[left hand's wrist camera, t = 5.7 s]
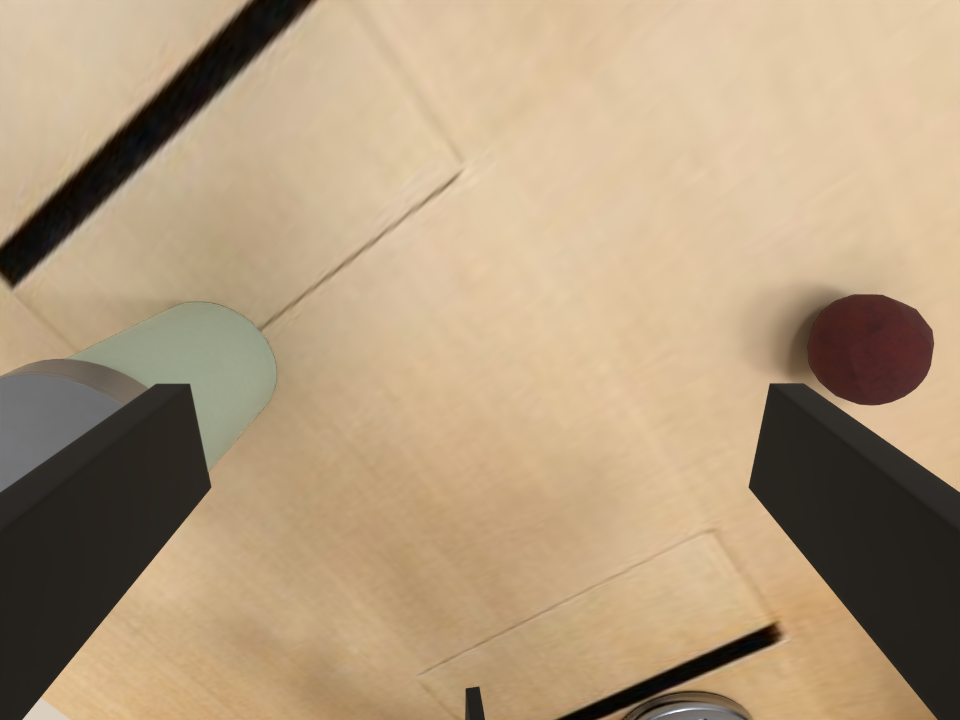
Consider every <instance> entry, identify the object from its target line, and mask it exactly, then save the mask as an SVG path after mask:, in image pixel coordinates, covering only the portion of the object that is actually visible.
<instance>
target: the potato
mask: <svg viewBox="0 0 960 720" xmlns="http://www.w3.org/2000/svg"><path fill="white" fill-rule="evenodd" d="M807 347H808V360H809V365H810V367H811V369H812V371H813V372H814V374H815V376H816V377H817V379H818V380H819V382H820V383H821V384H823V385H824V386H825V387H826V388H827V389H828V390H829V391H831V392H832V393H833V394H834V395H835V396H837V397H840V398H843V399H845V400H848V401H851V402H854V403H856V404H860V405H881V404H885V403H890V402H893V401H895V400H898V399H900V398H902V397H905V396H906V395H908V394H909V393H910V392H912V391H913V390H915V389H916V388H917V387H918V386H919V385H920V383H921V382H922V381H923V380H924V379H925V377H926V376H927V374H928V371H929V369H930V366H931V360H932V353H933V347H934V339H933V332H932V329H931V328H930V326H929V325H928V324H927V323H926V321H925V320H924V319H923V317H922V316H921V315H920V314H919V312H918V311H917V310H916V309H914V308H912V307H910V306H908V305H906V304H904V303H902V302H899V301H896V300H894V299H891V298H889V297H886V296H884V295H873V294H868V295H851V296H848V297H845V298H842V299H839V300H836V301H835V302H833V303H831V304H830V305H829V306H828V307H827V308H825V309H824V310H823V311H822V312H821V313H820V315H819V316H818V318H817V319H816V321H815V322H814V324H813V328H812V331H811V335H810V338H809V342H808V346H807Z"/></svg>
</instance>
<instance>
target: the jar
mask: <svg viewBox="0 0 960 720" xmlns="http://www.w3.org/2000/svg"><path fill="white" fill-rule="evenodd" d="M66 359H73V360H81V361H88V362H92V363H96V364H100V365H103V366H106V367H109V368H112V369H114V370H117V371H119V372H121V373H123V374H125V375H127V376H129V377H131V378H133V379H135V380H136V381H138V382H140V383H141V384H143V385H144V386H146V387H147V388H148V389H149V388H151V387H152V386H153V385H155V384H190V386H191V390H192V395H193V400H194V405H195V410H196V415H197V420H198V425H199V429H200V434H201V439H202V444H203V449H204V454H205V459H206V464H207V468H208V472H209V471H210V470H211V469H212V468H213V467H214V465H215V464H216V463H217V462H218V461H219V460H220V458H221V457H222V456H223V455H224V454H225V453H226V452H227V450H228V449H229V448H230V447H231V446H232V445H233V443H234V442H235V441H236V440H237V439H238V438H239V436H240V435H241V434H242V433H243V432H244V431H245V429H246V428H247V427H248V426H249V425H250V424H251V423H252V421H253V420H254V419H255V418H256V417H257V416H258V414H259V413H260V412H261V411H262V410H263V409H264V407H265V406H266V405H267V403H268V402H269V401H270V399H271V397H272V395H273V392H274V389H275V386H276V380H277V370H276V362H275V359H274V355H273V352H272V350H271V348H270V346H269V344H268V342H267V340H266V339H265V337H264V336H263V335H262V333H261V332H260V331H259V330H258V329H257V328H256V326H255V325H253V324H252V323H251V322H250V321H249V320H248V319H246V318H245V317H243V316H242V315H240V314H239V313H237V312H235V311H233V310H231V309H229V308H226V307H224V306H221V305H217V304H213V303H207V302H189V303H183V304H179V305H176V306H174V307H171V308H169V309H167V310H165V311H163V312H161V313H159V314H157V315H155V316H153V317H151V318H149V319H147V320H144V321H142V322H140V323H138V324H136V325H134V326H132V327H130V328H128V329H126V330H124V331H122V332H120V333H118V334H116V335H114V336H111V337H109V338H107V339H105V340H103V341H101V342H99V343H97V344H95V345H93V346H91V347H89V348H87V349H85V350H83V351H81V352H79V353H76V354H74V355H72V356H70V357H68V358H66Z"/></svg>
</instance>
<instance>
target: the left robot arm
mask: <svg viewBox="0 0 960 720" xmlns="http://www.w3.org/2000/svg"><path fill="white" fill-rule="evenodd" d="M210 489H211V483H210V478H209V473H208V468H207V464H206V459H205V454H204V449H203V444H202V439H201V434H200V429H199V425H198V420H197V415H196V410H195V405H194V400H193V395H192V390H191V386H190V384H155V385H153V386H152V387H151V388H149V389H148V390H146V391H145V392H143V393H142V394H141V395H139V396H138V397H136V398H135V399H133V400H132V401H131V402H129V403H128V404H126V405H125V406H123V407H122V408H120V409H119V410H118V411H116V412H115V413H113V414H112V415H110V416H109V417H108V418H106V419H105V420H103V421H102V422H100V423H99V424H98V425H96V426H95V427H93V428H92V429H90V430H89V431H88V432H86V433H85V434H83V435H82V436H80V437H79V438H78V439H76V440H75V441H73V442H72V443H70V444H69V445H67V446H66V447H65V448H63V449H62V450H60V451H59V452H57V453H56V454H55V455H53V456H52V457H50V458H49V459H47V460H46V461H45V462H43V463H42V464H40V465H39V466H37V467H36V468H35V469H33V470H32V471H30V472H29V473H27V474H26V475H24V476H23V477H22V478H20V479H19V480H17V481H16V482H14V483H13V484H12V485H10V486H9V487H7V488H6V489H4V490H3V491H2V492H0V720H22V719H23V718H24V717H25V716H26V714H27V713H28V712H29V711H30V710H31V708H32V707H33V706H34V705H35V703H36V702H37V701H38V700H39V699H40V697H41V696H42V695H43V694H44V692H45V691H46V690H47V689H48V688H49V686H50V685H51V684H52V683H53V681H54V680H55V679H56V678H57V676H58V675H59V674H60V673H61V672H62V670H63V669H64V668H65V667H66V665H67V664H68V663H69V662H70V660H71V659H72V658H73V657H74V656H75V654H76V653H77V652H78V651H79V649H80V648H81V647H82V646H83V645H84V643H85V642H86V641H87V640H88V638H89V637H90V636H91V635H92V633H93V632H94V631H95V630H96V629H97V627H98V626H99V625H100V624H101V622H102V621H103V620H104V619H105V618H106V616H107V615H108V614H109V613H110V611H111V610H112V609H113V608H114V606H115V605H116V604H117V603H118V602H119V600H120V599H121V598H122V597H123V595H124V594H125V593H126V592H127V590H128V589H129V588H130V587H131V586H132V584H133V583H134V582H135V581H136V579H137V578H138V577H139V576H140V575H141V573H142V572H143V571H144V570H145V568H146V567H147V566H148V565H149V563H150V562H151V561H152V560H153V559H154V557H155V556H156V555H157V554H158V552H159V551H160V550H161V549H162V548H163V546H164V545H165V544H166V543H167V541H168V540H169V539H170V538H171V536H172V535H173V534H174V533H175V532H176V530H177V529H178V528H179V527H180V525H181V524H182V523H183V522H184V520H185V519H186V518H187V517H188V516H189V514H190V513H191V512H192V511H193V509H194V508H195V507H196V506H197V505H198V503H199V502H200V501H201V500H202V498H203V497H204V496H205V495H206V493H207V492H208V491H209V490H210ZM749 489H750V490H751V491H752V492H753V493H754V495H755V496H756V497H757V498H758V500H759V501H760V502H761V503H762V505H763V506H764V507H765V508H766V509H767V511H768V512H769V513H770V514H771V516H772V517H773V518H774V519H775V520H776V522H777V523H778V524H779V525H780V527H781V528H782V529H783V530H784V532H785V533H786V534H787V535H788V536H789V538H790V539H791V540H792V541H793V543H794V544H795V545H796V546H797V548H798V549H799V550H800V551H801V552H802V554H803V555H804V556H805V557H806V559H807V560H808V561H809V562H810V563H811V565H812V566H813V567H814V568H815V570H816V571H817V572H818V573H819V575H820V576H821V577H822V578H823V579H824V581H825V582H826V583H827V584H828V586H829V587H830V588H831V589H832V590H833V592H834V593H835V594H836V595H837V597H838V598H839V599H840V600H841V602H842V603H843V604H844V605H845V606H846V608H847V609H848V610H849V611H850V613H851V614H852V615H853V616H854V618H855V619H856V620H857V621H858V622H859V624H860V625H861V626H862V627H863V629H864V630H865V631H866V632H867V633H868V635H869V636H870V637H871V638H872V640H873V641H874V642H875V643H876V645H877V646H878V647H879V648H880V649H881V651H882V652H883V653H884V654H885V656H886V657H887V658H888V659H889V660H890V662H891V663H892V664H893V665H894V667H895V668H896V669H897V670H898V672H899V673H900V674H901V675H902V676H903V678H904V679H905V680H906V681H907V683H908V684H909V685H910V686H911V688H912V689H913V690H914V691H915V692H916V694H917V695H918V696H919V697H920V699H921V700H922V701H923V702H924V703H925V705H926V706H927V707H928V708H929V710H930V711H931V712H932V713H933V715H934V716H935V717H936V718H937V719H938V720H960V492H958V491H957V490H956V489H954V488H953V487H951V486H950V485H948V484H947V483H946V482H944V481H943V480H941V479H940V478H938V477H937V476H936V475H934V474H933V473H931V472H930V471H928V470H927V469H925V468H924V467H923V466H921V465H920V464H918V463H917V462H915V461H914V460H913V459H911V458H910V457H908V456H907V455H905V454H904V453H903V452H901V451H900V450H898V449H897V448H895V447H894V446H893V445H891V444H890V443H888V442H887V441H885V440H884V439H882V438H881V437H880V436H878V435H877V434H875V433H874V432H872V431H871V430H870V429H868V428H867V427H865V426H864V425H862V424H861V423H860V422H858V421H857V420H855V419H854V418H852V417H851V416H850V415H848V414H847V413H845V412H844V411H842V410H841V409H840V408H838V407H837V406H835V405H834V404H832V403H831V402H829V401H828V400H827V399H825V398H824V397H822V396H821V395H819V394H818V393H817V392H815V391H814V390H812V389H811V388H809V387H808V386H807V385H805V384H770V386H769V390H768V395H767V400H766V405H765V410H764V415H763V420H762V425H761V429H760V434H759V439H758V444H757V449H756V454H755V459H754V464H753V468H752V473H751V478H750V483H749Z"/></svg>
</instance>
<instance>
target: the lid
mask: <svg viewBox="0 0 960 720" xmlns="http://www.w3.org/2000/svg"><path fill="white" fill-rule="evenodd" d="M146 390H148V388H147V387H146V386H144V385H143V384H141V383H140V382H138V381H136V380H135V379H133V378H131V377H129V376H127V375H125V374H123V373H121V372H119V371H117V370H114V369H112V368H109V367H106V366H103V365H100V364H96V363H92V362H88V361H81V360H73V359H52V360H43V361H39V362H35V363H31V364H27V365H25V366H23V367H20V368H18V369H15V370H13V371H11V372H9V373H7V374H5V375H2V376H0V492H2V491H3V490H4V489H6V488H7V487H9V486H10V485H12V484H13V483H14V482H16V481H17V480H19V479H20V478H22V477H23V476H24V475H26V474H27V473H29V472H30V471H32V470H33V469H35V468H36V467H37V466H39V465H40V464H42V463H43V462H45V461H46V460H47V459H49V458H50V457H52V456H53V455H55V454H56V453H57V452H59V451H60V450H62V449H63V448H65V447H66V446H67V445H69V444H70V443H72V442H73V441H75V440H76V439H78V438H79V437H80V436H82V435H83V434H85V433H86V432H88V431H89V430H90V429H92V428H93V427H95V426H96V425H98V424H99V423H100V422H102V421H103V420H105V419H106V418H108V417H109V416H110V415H112V414H113V413H115V412H116V411H118V410H119V409H120V408H122V407H123V406H125V405H126V404H128V403H129V402H131V401H132V400H133V399H135V398H136V397H138V396H139V395H141V394H142V393H143V392H145V391H146Z"/></svg>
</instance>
